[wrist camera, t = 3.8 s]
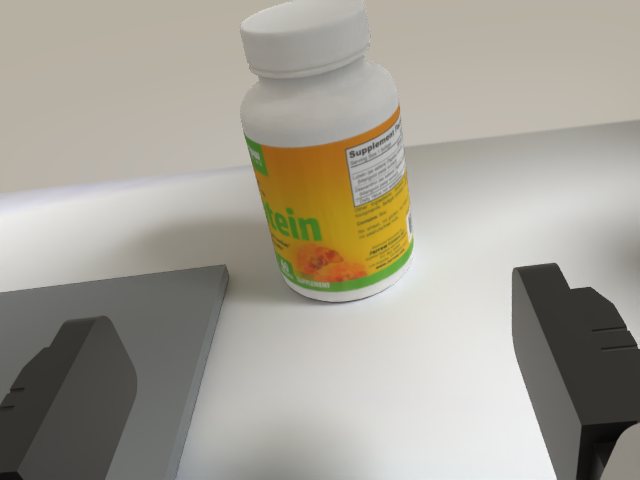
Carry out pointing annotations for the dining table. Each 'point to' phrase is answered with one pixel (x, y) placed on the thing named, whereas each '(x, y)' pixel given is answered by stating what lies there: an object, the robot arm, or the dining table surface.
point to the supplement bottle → (327, 149)
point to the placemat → (130, 351)
